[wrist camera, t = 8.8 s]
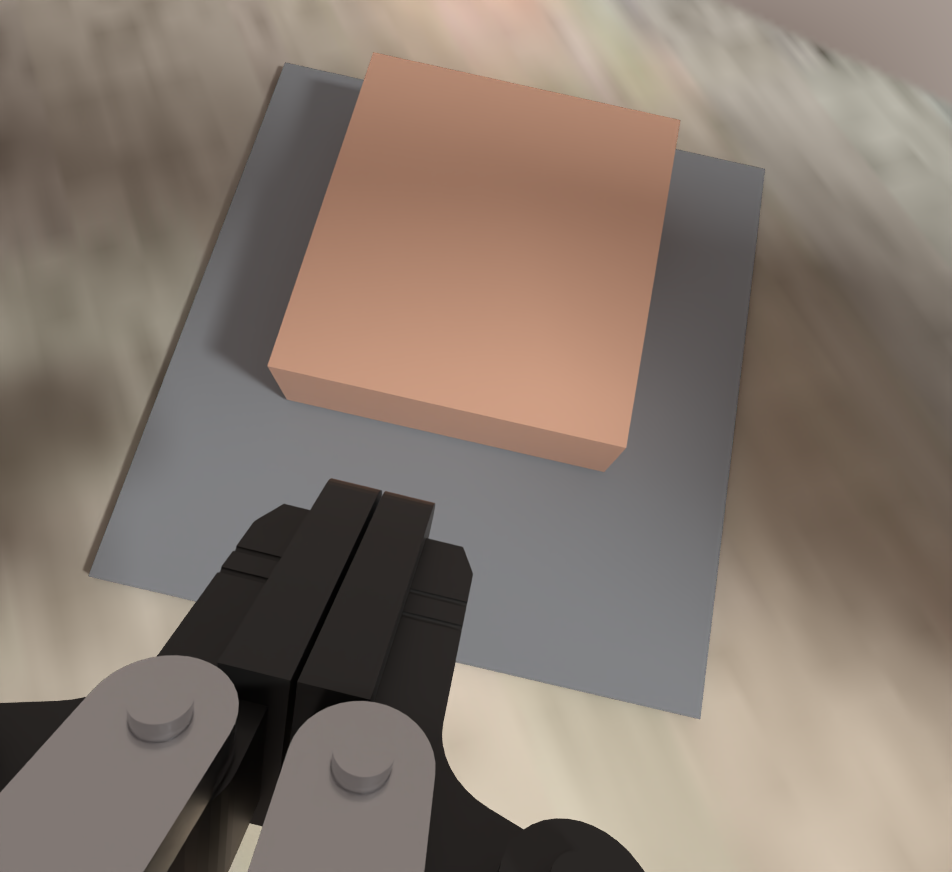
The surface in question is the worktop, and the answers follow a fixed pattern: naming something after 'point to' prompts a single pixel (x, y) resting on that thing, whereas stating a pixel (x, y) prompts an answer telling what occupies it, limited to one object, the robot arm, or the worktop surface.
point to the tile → (482, 264)
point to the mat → (459, 461)
